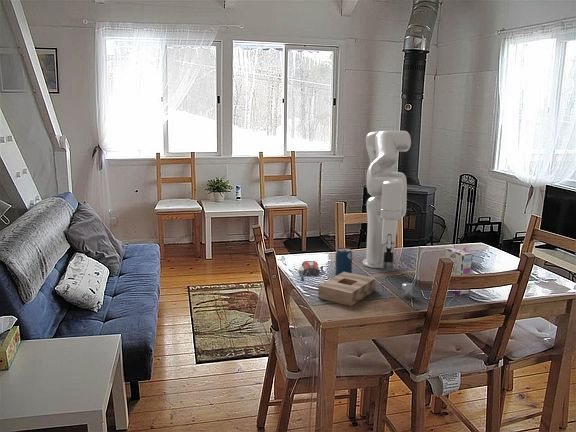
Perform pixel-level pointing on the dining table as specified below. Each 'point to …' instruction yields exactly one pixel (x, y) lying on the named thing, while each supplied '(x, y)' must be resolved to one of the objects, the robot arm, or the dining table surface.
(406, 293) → the short pin
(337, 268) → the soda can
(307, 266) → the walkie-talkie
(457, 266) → the candy bar box
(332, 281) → the hole block
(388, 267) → the tall pin
